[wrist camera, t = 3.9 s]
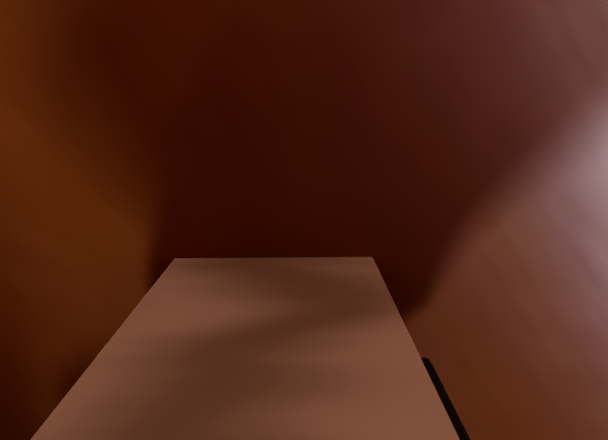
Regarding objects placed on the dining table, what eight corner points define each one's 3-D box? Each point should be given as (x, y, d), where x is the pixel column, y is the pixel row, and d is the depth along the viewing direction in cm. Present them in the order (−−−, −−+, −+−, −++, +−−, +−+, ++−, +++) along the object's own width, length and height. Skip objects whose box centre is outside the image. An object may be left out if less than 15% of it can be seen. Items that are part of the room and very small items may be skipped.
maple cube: (372, 256, 10) (464, 449, 5) (361, 404, 12) (414, 666, 7) (175, 257, 10) (18, 455, 4) (196, 406, 12) (106, 673, 6)
